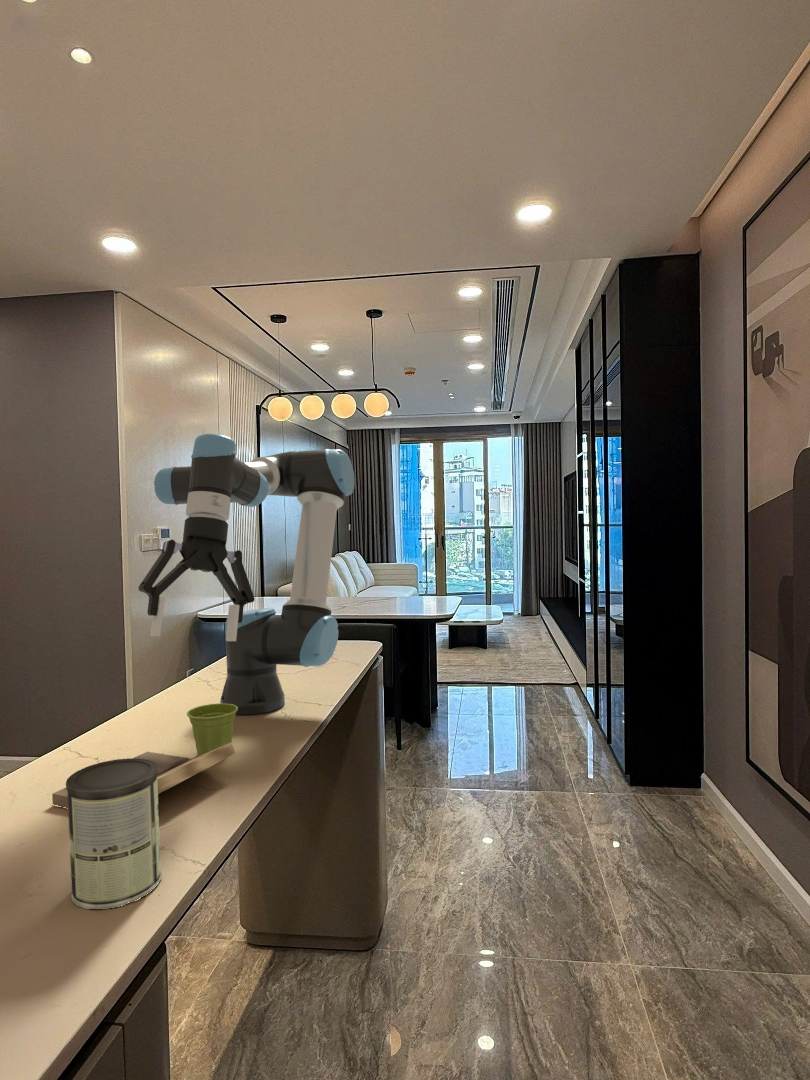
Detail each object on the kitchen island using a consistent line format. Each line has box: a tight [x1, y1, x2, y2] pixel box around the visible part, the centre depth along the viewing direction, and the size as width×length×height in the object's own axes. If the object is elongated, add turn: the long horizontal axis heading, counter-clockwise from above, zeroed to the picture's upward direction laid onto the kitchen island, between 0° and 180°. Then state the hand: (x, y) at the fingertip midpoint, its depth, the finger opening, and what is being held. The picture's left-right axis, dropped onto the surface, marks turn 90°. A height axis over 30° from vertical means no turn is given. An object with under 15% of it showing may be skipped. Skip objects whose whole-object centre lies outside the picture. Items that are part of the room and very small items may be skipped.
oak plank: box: [157, 741, 237, 795], centre depth 107 cm, size 20×10×2 cm, turn 157°
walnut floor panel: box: [51, 751, 191, 808], centre depth 112 cm, size 20×10×2 cm, turn 157°
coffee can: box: [65, 757, 162, 910], centre depth 81 cm, size 10×10×14 cm
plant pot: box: [186, 702, 238, 757], centre depth 126 cm, size 9×9×9 cm
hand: (194, 639), depth 114 cm, fingers open, 13 cm apart
